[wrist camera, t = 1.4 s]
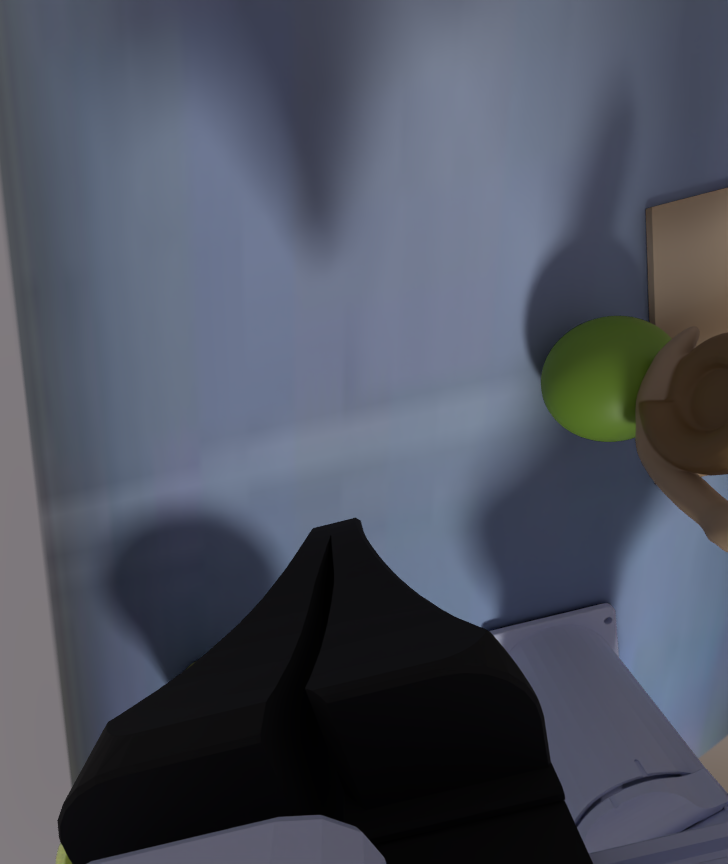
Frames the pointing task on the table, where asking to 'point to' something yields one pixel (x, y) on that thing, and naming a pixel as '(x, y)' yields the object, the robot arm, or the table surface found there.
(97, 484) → the table surface
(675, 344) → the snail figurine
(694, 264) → the cork mat
